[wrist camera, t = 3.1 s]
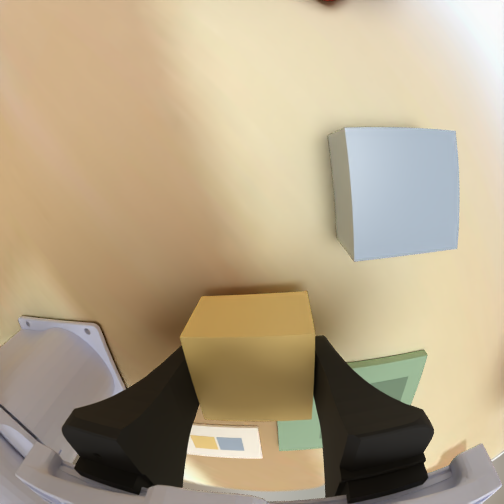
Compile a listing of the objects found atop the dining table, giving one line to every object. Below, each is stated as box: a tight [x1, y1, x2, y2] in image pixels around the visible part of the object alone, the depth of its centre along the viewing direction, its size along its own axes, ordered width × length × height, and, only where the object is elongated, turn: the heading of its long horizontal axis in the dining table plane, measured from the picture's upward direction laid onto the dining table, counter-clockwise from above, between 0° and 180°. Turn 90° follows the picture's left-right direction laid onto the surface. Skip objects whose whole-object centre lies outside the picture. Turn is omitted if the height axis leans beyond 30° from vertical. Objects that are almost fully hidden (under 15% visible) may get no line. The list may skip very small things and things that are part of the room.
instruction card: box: [187, 423, 263, 458], centre depth 19 cm, size 7×5×1 cm
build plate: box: [277, 350, 427, 451], centre depth 17 cm, size 10×9×1 cm
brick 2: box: [328, 127, 459, 262], centre depth 11 cm, size 5×5×4 cm
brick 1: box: [180, 291, 315, 421], centre depth 12 cm, size 5×5×4 cm
